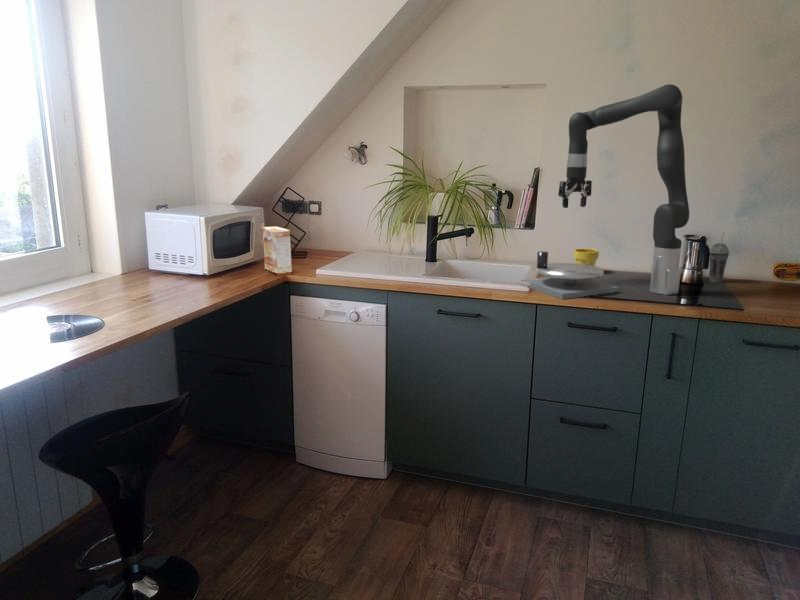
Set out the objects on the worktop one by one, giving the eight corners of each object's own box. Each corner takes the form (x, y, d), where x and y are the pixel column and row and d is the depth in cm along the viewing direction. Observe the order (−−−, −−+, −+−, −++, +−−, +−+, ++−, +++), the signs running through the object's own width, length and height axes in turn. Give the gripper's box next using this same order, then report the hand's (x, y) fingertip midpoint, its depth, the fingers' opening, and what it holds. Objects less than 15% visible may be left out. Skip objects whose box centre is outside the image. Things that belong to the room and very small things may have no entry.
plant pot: (576, 274, 260) (577, 252, 258) (569, 269, 270) (571, 248, 268) (600, 274, 260) (602, 252, 258) (592, 269, 270) (594, 248, 268)
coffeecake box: (264, 270, 270) (261, 227, 266) (279, 268, 274) (276, 225, 270) (277, 276, 258) (274, 230, 254) (292, 274, 262) (290, 229, 257)
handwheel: (558, 264, 250) (559, 246, 248) (615, 272, 233) (617, 253, 231) (523, 272, 233) (524, 253, 232) (581, 282, 216) (583, 261, 214)
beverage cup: (701, 280, 249) (707, 231, 244) (713, 278, 252) (719, 230, 247) (717, 283, 243) (724, 234, 238) (729, 281, 246) (736, 232, 241)
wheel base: (618, 292, 228) (619, 277, 226) (562, 299, 218) (563, 283, 217) (573, 279, 251) (574, 265, 250) (521, 284, 241) (521, 270, 240)
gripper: (585, 165, 243) (582, 205, 247) (556, 165, 237) (553, 207, 241) (597, 165, 236) (594, 207, 240) (568, 166, 230) (565, 208, 234)
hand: (574, 207), depth 240 cm, fingers open, 8 cm apart
